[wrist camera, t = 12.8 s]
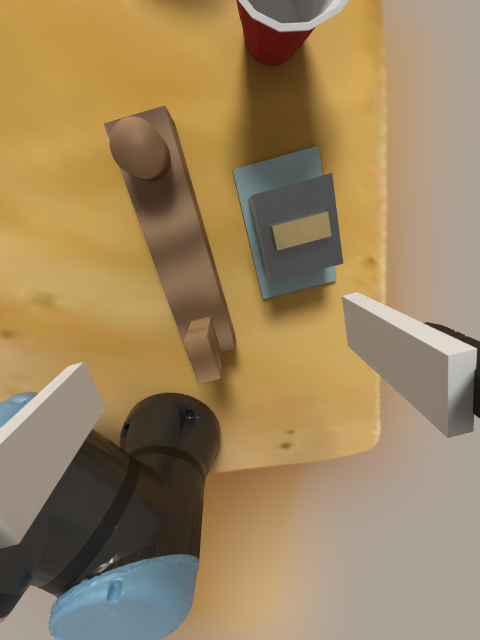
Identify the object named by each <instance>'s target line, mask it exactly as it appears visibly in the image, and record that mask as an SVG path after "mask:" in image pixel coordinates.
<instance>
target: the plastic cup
mask: <svg viewBox="0 0 480 640" xmlns="http://www.w3.org/2000/svg"><path fill="white" fill-rule="evenodd" d="M348 1H349V0H237V5H238V10H239V15H240V19H241V22H242V26H243V33H244V37H245V40H246V43H247V45H248V48H249V50H250V52H251V53H252V54H253V56H254V57H255V58H256V59H257V60H258V61H260V62H262V63H264V64H266V65H279V64H281V63H282V62H284V61H286V60H288V59H290V58H291V56H292V55H293V54H294V53H295V51H296V50H297V49H298V48H299V47H300V46H301V45H302V44H303V42H304V41H305V40H306V39H307V37H308V36H309V35H310V34H311V32H312V31H313V30H314V29H315V27H316V26H318V25H319V24H321V23H323V22H324V21H326V20H328V19H329V18H331V17H333V16H335V15H336V14H338V13H339V12H340V11H341V10H342V9H343V7H344V6H345V5H346V3H347V2H348Z"/></svg>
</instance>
